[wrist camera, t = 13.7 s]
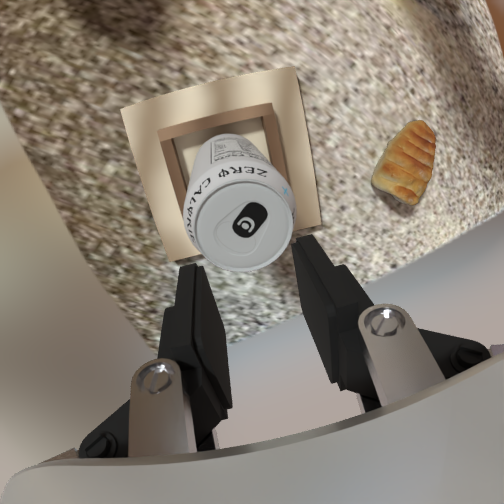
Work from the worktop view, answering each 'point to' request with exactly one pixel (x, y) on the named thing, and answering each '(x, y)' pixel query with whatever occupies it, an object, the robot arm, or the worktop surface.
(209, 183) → the energy drink can
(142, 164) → the board
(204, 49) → the worktop surface
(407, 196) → the pastry
